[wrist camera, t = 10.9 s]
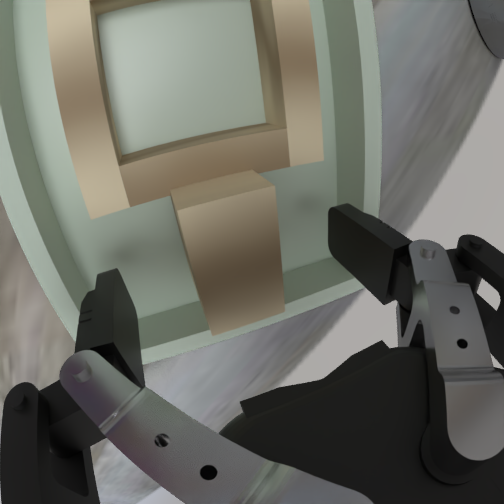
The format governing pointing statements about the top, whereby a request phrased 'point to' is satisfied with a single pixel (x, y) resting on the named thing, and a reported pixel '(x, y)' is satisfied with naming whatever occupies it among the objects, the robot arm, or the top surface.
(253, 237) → the wooden frame with handle
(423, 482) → the robot arm
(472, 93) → the top surface
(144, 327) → the tray
